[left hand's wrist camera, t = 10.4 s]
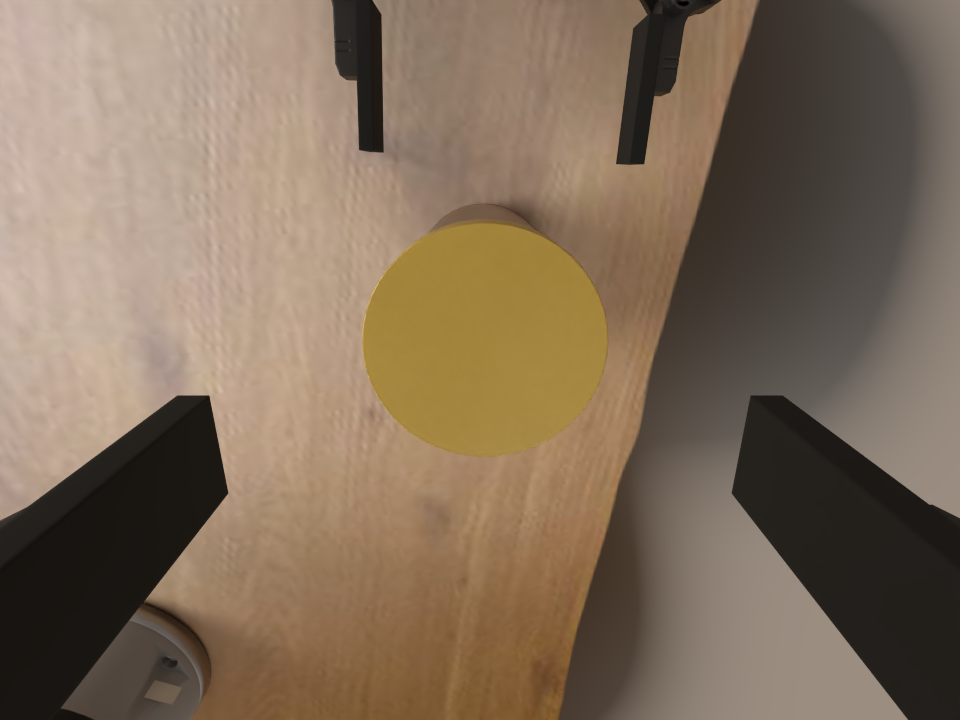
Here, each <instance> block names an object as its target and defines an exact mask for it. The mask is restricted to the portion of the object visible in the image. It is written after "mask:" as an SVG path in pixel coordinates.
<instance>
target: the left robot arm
mask: <svg viewBox="0 0 960 720" xmlns="http://www.w3.org/2000/svg"><path fill="white" fill-rule="evenodd" d="M227 494H228V489H227V484H226V479H225V474H224V469H223V464H222V458H221V453H220V448H219V443H218V438H217V433H216V428H215V422H214V417H213V412H212V407H211V402H210V397H209V396H176V397H175V398H173V399H172V400H171V401H169V402H168V403H167V404H165V405H164V406H163V407H161V408H160V409H159V410H157V411H156V412H155V413H153V414H152V415H151V416H149V417H148V418H147V419H145V420H144V421H143V422H141V423H140V424H139V425H137V426H136V427H135V428H133V429H132V430H131V431H129V432H128V433H126V434H125V435H124V436H122V437H121V438H120V439H118V440H117V441H116V442H114V443H113V444H112V445H110V446H109V447H108V448H106V449H105V450H104V451H102V452H101V453H100V454H98V455H97V456H96V457H94V458H93V459H92V460H90V461H89V462H88V463H86V464H85V465H83V466H82V467H81V468H79V469H78V470H77V471H75V472H74V473H73V474H71V475H70V476H69V477H67V478H66V479H65V480H63V481H62V482H61V483H59V484H58V485H57V486H55V487H54V488H53V489H51V490H50V491H49V492H47V493H46V494H45V495H43V496H42V497H40V498H39V499H38V500H36V501H35V502H34V503H32V504H31V505H30V506H28V507H27V508H25V509H23V510H21V511H19V512H17V513H15V514H13V515H11V516H9V517H7V518H5V519H3V520H1V521H0V720H189V719H190V718H191V717H192V716H193V714H194V713H195V711H196V710H197V708H198V706H199V704H200V702H201V700H202V698H203V696H204V695H205V693H206V691H207V688H208V686H209V682H210V676H211V669H210V663H209V659H208V656H207V654H206V652H205V650H204V648H203V646H202V645H201V643H200V642H199V640H198V639H197V638H196V637H195V635H194V634H193V633H192V632H191V631H190V630H189V629H188V628H186V627H185V626H184V625H183V624H182V623H180V622H179V621H177V620H176V619H175V618H173V617H171V616H170V615H168V614H166V613H164V612H162V611H160V610H158V609H156V608H153V607H151V606H148V605H145V604H142V603H143V602H144V601H145V600H146V598H147V597H148V596H149V594H150V593H151V592H152V591H153V589H154V588H155V587H156V585H157V584H158V583H159V582H160V580H161V579H162V578H163V576H164V575H165V574H166V573H167V571H168V570H169V569H170V567H171V566H172V565H173V564H174V562H175V561H176V560H177V558H178V557H179V556H180V555H181V553H182V552H183V551H184V549H185V548H186V547H187V546H188V544H189V543H190V542H191V541H192V539H193V538H194V537H195V535H196V534H197V533H198V532H199V530H200V529H201V528H202V526H203V525H204V524H205V523H206V521H207V520H208V519H209V517H210V516H211V515H212V514H213V512H214V511H215V510H216V508H217V507H218V506H219V505H220V503H221V502H222V501H223V499H224V498H225V497H226V496H227ZM732 494H733V496H734V497H735V498H736V499H737V501H738V502H739V503H740V505H741V506H742V507H743V508H744V510H745V511H746V512H747V514H748V515H749V516H750V517H751V519H752V520H753V521H754V523H755V524H756V525H757V526H758V528H759V529H760V530H761V532H762V533H763V534H764V535H765V537H766V538H767V539H768V540H769V542H770V543H771V544H772V546H773V547H774V548H775V549H776V551H777V552H778V553H779V555H780V556H781V557H782V558H783V560H784V561H785V562H786V564H787V565H788V566H789V567H790V569H791V570H792V571H793V573H794V574H795V575H796V576H797V578H798V579H799V580H800V582H801V583H802V584H803V585H804V587H805V588H806V589H807V591H808V592H809V593H810V594H811V596H812V597H813V598H814V599H815V601H816V602H817V603H818V605H819V606H820V607H821V609H822V610H823V611H824V612H825V614H826V615H827V616H828V617H829V619H830V620H831V621H832V623H833V624H834V625H835V626H836V628H837V629H838V630H839V632H840V633H841V634H842V635H843V637H844V638H845V639H846V641H847V642H848V643H849V644H850V646H851V647H852V648H853V650H854V651H855V652H856V653H857V655H858V656H859V657H860V659H861V660H862V661H863V662H864V664H865V665H866V666H867V668H868V669H869V670H870V671H871V673H872V674H873V675H874V676H875V678H876V679H877V680H878V682H879V683H880V684H881V685H882V687H883V688H884V689H885V691H886V692H887V693H888V694H889V696H890V697H891V698H892V700H893V701H894V702H895V703H896V705H897V706H898V707H899V709H900V710H901V711H902V712H903V714H904V715H905V716H906V717H907V719H908V720H960V518H958V517H956V516H954V515H952V514H950V513H948V512H946V511H944V510H942V509H940V508H938V507H936V506H934V505H929V504H928V503H926V502H925V501H924V500H922V499H921V498H920V497H918V496H917V495H915V494H914V493H913V492H911V491H910V490H909V489H907V488H906V487H905V486H903V485H902V484H901V483H899V482H898V481H897V480H895V479H894V478H893V477H891V476H890V475H889V474H887V473H886V472H885V471H883V470H882V469H881V468H879V467H878V466H877V465H875V464H874V463H872V462H871V461H870V460H868V459H867V458H866V457H864V456H863V455H862V454H860V453H859V452H858V451H856V450H855V449H854V448H852V447H851V446H850V445H848V444H847V443H846V442H844V441H843V440H842V439H840V438H839V437H837V436H836V435H835V434H834V433H832V432H831V431H829V430H828V429H827V428H825V427H824V426H823V425H821V424H820V423H819V422H817V421H816V420H815V419H813V418H812V417H811V416H809V415H808V414H807V413H805V412H804V411H803V410H801V409H800V408H799V407H797V406H796V405H795V404H793V403H792V402H791V401H789V400H788V399H787V398H785V397H784V396H751V397H750V402H749V407H748V412H747V417H746V422H745V428H744V433H743V438H742V443H741V448H740V453H739V458H738V464H737V469H736V474H735V479H734V484H733V489H732Z"/></svg>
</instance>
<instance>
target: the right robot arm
mask: <svg viewBox="0 0 960 720" xmlns="http://www.w3.org/2000/svg"><path fill="white" fill-rule="evenodd" d="M331 1H332V4H333V18H334V39H335V64H336V66H337V69H338V71H339V74H340V76H342V77H343V78H345V79H346V80H356V81H357V95H358V127H359V150H362V151H368V152H383V153H384V149H383V88H382V26H381V13H380V12H379V10H378V9H377V7H376V5H375V4H374V2H373V1H372V0H331ZM719 1H721V0H640V2H641V4H642V6H643V7H644V9H645V11H646V13H647V16H646V17H645V18H644V19H643V20H642V21H641V22H640V23H639V24H637V25H636V26H635V27H634V28H633V35H632V43H631V51H630V59H629V67H628V75H627V82H626V90H625V98H624V106H623V114H622V122H621V130H620V138H619V146H618V153H617V161H616V164H626V165H635V164H644V162H645V155H646V148H647V141H648V134H649V127H650V120H651V113H652V106H653V99H654V96H663V95H665V94H667V93H670V91H671V89H672V87H673V85H674V83H675V82H676V75H677V67H678V62H679V56H680V50H681V43H682V37H683V30H684V25H685V22H686V20H687V18H688V17H689V16H692V15H695V14H701V13H703V12H705V11H706V10H708V9H709V8H711V7H712V6H714V5H715V4H717V3H718V2H719Z"/></svg>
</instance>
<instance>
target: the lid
mask: <svg viewBox="0 0 960 720" xmlns="http://www.w3.org/2000/svg"><path fill="white" fill-rule="evenodd" d="M362 346H363V357H364V362H365V366H366V371H367V374H368V377H369V379H370V382H371V385H372V387H373V389H374V391H375V393H376V394H377V396H378V398H379V400H380V401H381V403H382V404H383V406H384V407H385V408H386V410H387V411H388V412H389V413H390V414H391V416H392V417H393V418H394V419H395V420H396V421H397V422H398V423H399V424H400V425H402V426H403V427H404V428H405V429H406V430H407V431H409V432H410V433H412V434H413V435H415V436H416V437H418V438H419V439H421V440H422V441H424V442H426V443H428V444H431V445H433V446H435V447H437V448H440V449H443V450H446V451H448V452H453V453H457V454H461V455H469V456H478V457H480V456H501V455H508V454H512V453H517V452H521V451H524V450H527V449H529V448H532V447H535V446H537V445H539V444H541V443H543V442H545V441H547V440H549V439H551V438H552V437H554V436H555V435H557V434H558V433H560V432H561V431H562V430H563V429H565V428H566V427H567V426H568V425H569V424H571V423H572V422H573V421H574V420H575V419H576V417H577V416H578V415H579V414H580V413H581V412H582V411H583V410H584V408H585V407H586V405H587V404H588V402H589V401H590V400H591V398H592V396H593V394H594V393H595V391H596V389H597V387H598V385H599V382H600V379H601V377H602V374H603V371H604V367H605V363H606V358H607V350H608V327H607V321H606V316H605V311H604V308H603V305H602V302H601V299H600V296H599V294H598V292H597V290H596V288H595V286H594V284H593V282H592V280H591V279H590V278H589V276H588V275H587V273H586V272H585V271H584V269H583V268H582V267H581V266H580V265H579V263H578V262H577V261H576V260H575V259H574V258H573V257H572V256H571V255H570V254H569V253H568V252H567V251H566V250H564V249H563V248H562V247H561V246H560V245H558V244H557V243H556V242H555V241H553V240H552V239H550V238H549V237H547V236H545V235H544V234H542V233H540V232H538V231H536V230H534V229H531V228H529V227H527V226H524V225H521V224H517V223H513V222H510V221H503V220H496V219H474V220H467V221H460V222H457V223H453V224H450V225H446V226H444V227H441V228H439V229H437V230H434V231H432V232H430V233H428V234H427V235H425V236H423V237H422V238H420V239H418V240H417V241H416V242H414V243H413V244H412V245H411V246H409V247H408V248H407V249H406V250H405V251H404V252H403V253H402V254H401V255H400V256H399V257H398V258H397V259H396V260H395V261H394V262H393V263H392V265H391V266H390V267H389V268H388V269H387V270H386V272H385V273H384V275H383V276H382V277H381V279H380V280H379V282H378V284H377V286H376V288H375V290H374V291H373V293H372V295H371V298H370V301H369V304H368V307H367V309H366V313H365V318H364V324H363V335H362Z"/></svg>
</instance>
